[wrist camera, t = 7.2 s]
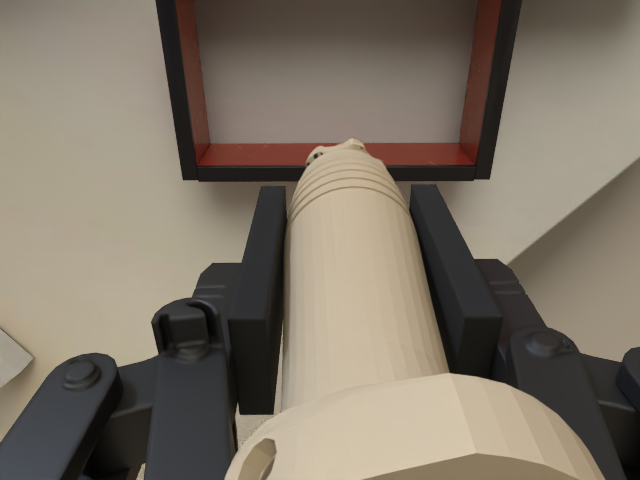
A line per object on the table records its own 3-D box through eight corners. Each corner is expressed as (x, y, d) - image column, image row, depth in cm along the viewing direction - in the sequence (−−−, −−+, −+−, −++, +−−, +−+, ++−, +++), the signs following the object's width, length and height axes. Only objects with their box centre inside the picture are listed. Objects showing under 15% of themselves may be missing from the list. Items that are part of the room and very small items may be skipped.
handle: (243, 189, 20) (100, 625, 7) (358, 70, 18) (471, 388, 5) (328, 259, 22) (343, 719, 8) (443, 159, 19) (705, 578, 6)
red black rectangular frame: (173, -47, 30) (147, -48, 25) (500, -48, 30) (531, -49, 25) (199, 155, 36) (182, 181, 32) (469, 154, 36) (489, 181, 32)
